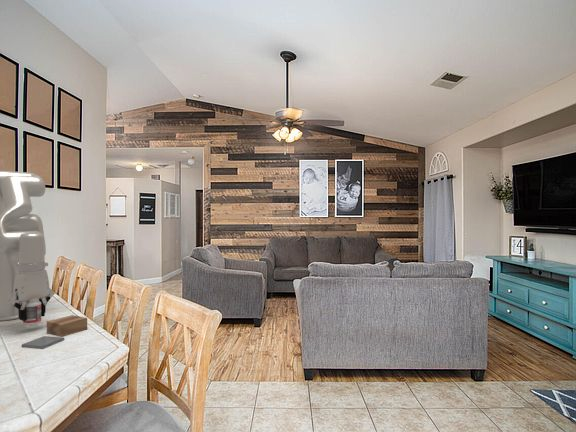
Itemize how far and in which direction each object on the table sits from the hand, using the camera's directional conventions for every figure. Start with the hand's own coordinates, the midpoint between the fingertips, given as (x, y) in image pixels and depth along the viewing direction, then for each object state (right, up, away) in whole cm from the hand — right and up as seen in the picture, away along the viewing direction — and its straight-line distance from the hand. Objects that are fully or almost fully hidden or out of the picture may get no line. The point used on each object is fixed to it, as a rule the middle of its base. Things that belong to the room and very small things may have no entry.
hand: (32, 317), depth 132 cm
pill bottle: (0, -2, 0) cm, 2 cm away
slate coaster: (+14, -4, -15) cm, 21 cm away
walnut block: (+14, -4, -2) cm, 15 cm away
